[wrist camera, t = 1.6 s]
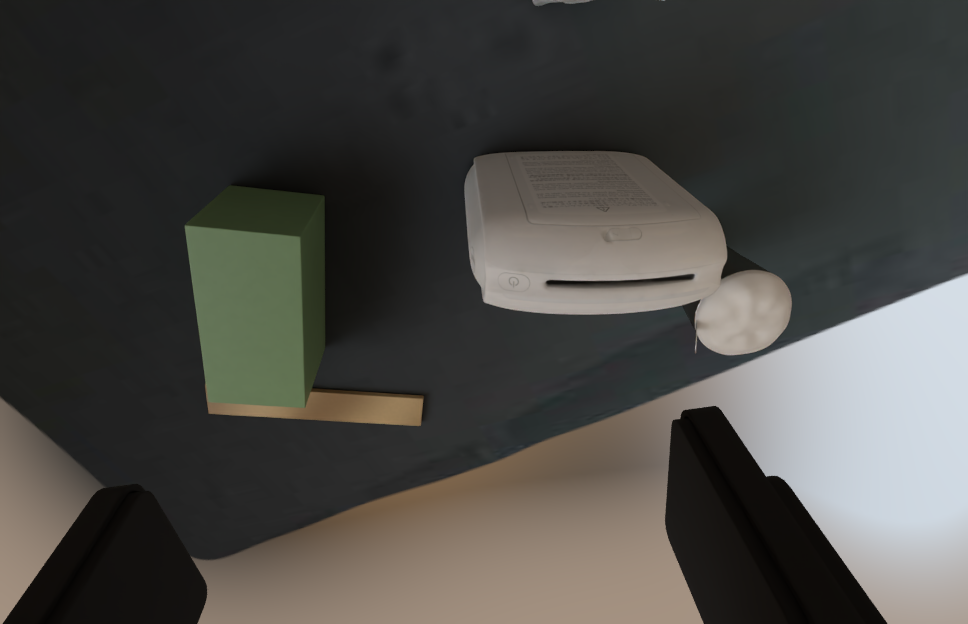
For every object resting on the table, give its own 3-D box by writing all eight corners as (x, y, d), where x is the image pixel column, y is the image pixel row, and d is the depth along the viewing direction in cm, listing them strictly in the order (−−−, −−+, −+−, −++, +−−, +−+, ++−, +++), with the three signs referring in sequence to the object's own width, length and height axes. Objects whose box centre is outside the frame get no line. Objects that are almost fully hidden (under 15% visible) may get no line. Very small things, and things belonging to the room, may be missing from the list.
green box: (243, 341, 34) (208, 402, 29) (229, 184, 30) (184, 225, 24) (325, 347, 35) (305, 408, 30) (324, 195, 30) (300, 236, 25)
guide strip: (210, 410, 37) (208, 413, 36) (206, 381, 36) (204, 384, 35) (420, 422, 39) (420, 426, 38) (423, 395, 37) (423, 399, 37)
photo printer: (462, 224, 32) (473, 341, 21) (461, 148, 29) (472, 235, 19) (639, 220, 32) (738, 332, 21) (650, 145, 30) (766, 228, 19)
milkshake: (627, 222, 32) (695, 306, 23) (718, 204, 32) (821, 282, 23) (631, 290, 34) (694, 389, 26) (716, 273, 34) (809, 367, 26)
